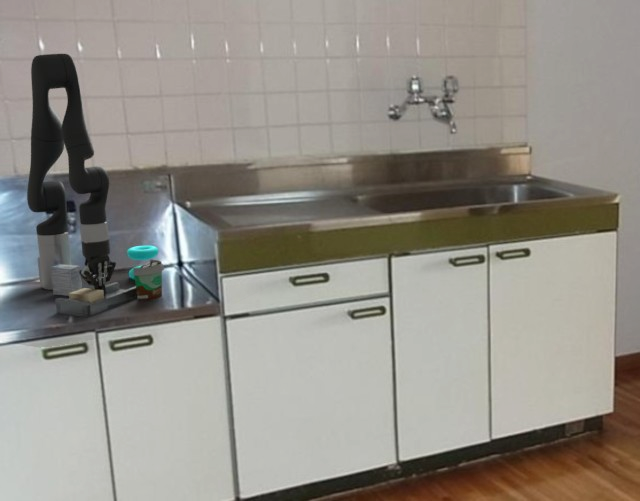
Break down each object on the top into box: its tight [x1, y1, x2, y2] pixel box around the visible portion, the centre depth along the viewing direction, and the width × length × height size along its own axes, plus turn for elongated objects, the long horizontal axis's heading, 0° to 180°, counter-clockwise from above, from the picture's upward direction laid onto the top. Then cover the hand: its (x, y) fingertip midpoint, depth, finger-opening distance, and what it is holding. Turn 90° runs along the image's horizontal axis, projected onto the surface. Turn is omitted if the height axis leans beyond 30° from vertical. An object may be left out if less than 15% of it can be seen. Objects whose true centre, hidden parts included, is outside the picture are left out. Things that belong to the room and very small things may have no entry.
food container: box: [133, 259, 165, 302], centre depth 217 cm, size 12×6×10 cm, turn 168°
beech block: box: [68, 287, 104, 303], centre depth 206 cm, size 7×6×4 cm
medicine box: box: [51, 264, 83, 297], centre depth 223 cm, size 8×4×9 cm, turn 65°
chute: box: [55, 281, 138, 318], centre depth 212 cm, size 11×24×4 cm, turn 154°
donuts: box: [126, 244, 159, 281], centre depth 241 cm, size 10×10×10 cm
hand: (100, 297), depth 211 cm, fingers closed
